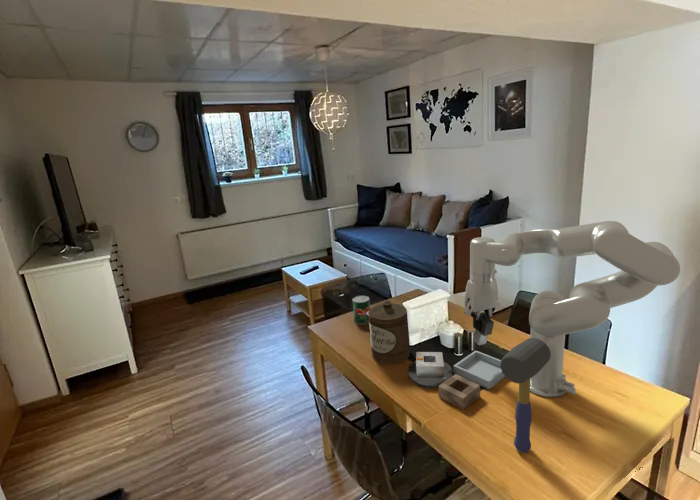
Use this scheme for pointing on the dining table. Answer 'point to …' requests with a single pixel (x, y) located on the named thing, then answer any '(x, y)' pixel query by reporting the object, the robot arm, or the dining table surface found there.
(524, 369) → the rubber mallet
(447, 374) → the dark gray round plate
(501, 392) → the dining table surface
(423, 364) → the collar
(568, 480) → the dining table surface
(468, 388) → the stand
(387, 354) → the wooden container
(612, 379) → the dining table surface
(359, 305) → the canned tomato
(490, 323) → the gray rectangular block
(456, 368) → the tray
